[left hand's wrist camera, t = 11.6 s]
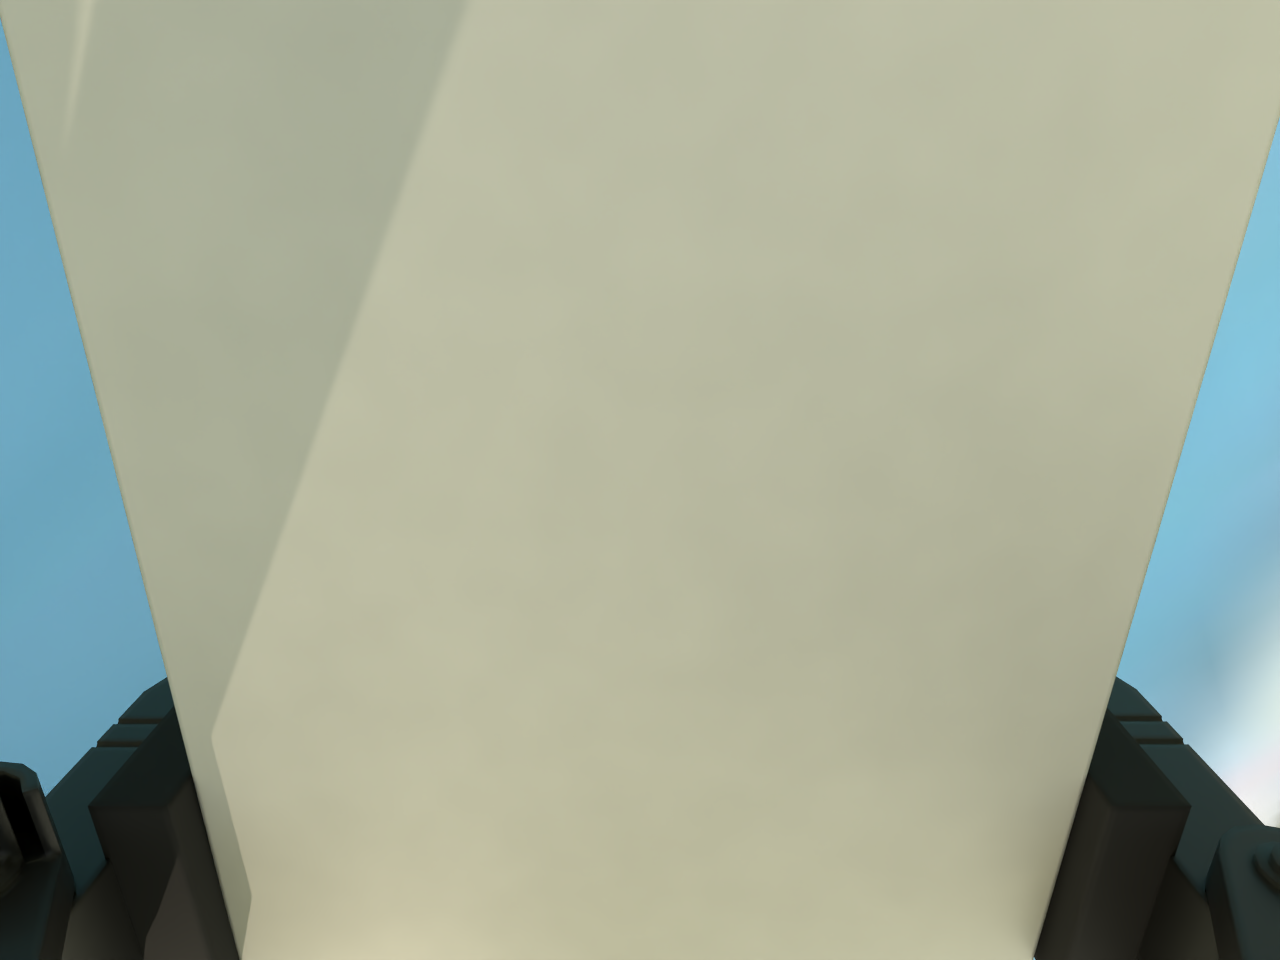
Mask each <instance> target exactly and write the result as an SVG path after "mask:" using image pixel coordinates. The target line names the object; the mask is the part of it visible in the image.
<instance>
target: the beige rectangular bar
mask: <svg viewBox="0 0 1280 960" xmlns="http://www.w3.org/2000/svg"><path fill="white" fill-rule="evenodd" d="M0 17H1V21H2V25H3V29H4V33H5V37H6V41H7V45H8V49H9V53H10V57H11V61H12V65H13V69H14V73H15V77H16V81H17V85H18V89H19V93H20V97H21V100H22V104H23V108H24V112H25V116H26V120H27V124H28V128H29V132H30V136H31V140H32V144H33V148H34V152H35V156H36V160H37V164H38V168H39V172H40V176H41V180H42V184H43V187H44V191H45V195H46V199H47V203H48V207H49V211H50V215H51V219H52V223H53V227H54V231H55V235H56V239H57V243H58V247H59V251H60V255H61V259H62V263H63V267H64V270H65V274H66V278H67V282H68V286H69V290H70V294H71V298H72V302H73V306H74V310H75V314H76V318H77V322H78V326H79V330H80V334H81V338H82V342H83V346H84V350H85V354H86V357H87V361H88V365H89V369H90V373H91V377H92V381H93V385H94V389H95V393H96V397H97V401H98V405H99V409H100V413H101V417H102V421H103V425H104V429H105V433H106V437H107V440H108V444H109V448H110V452H111V456H112V460H113V464H114V468H115V472H116V476H117V480H118V484H119V488H120V492H121V496H122V500H123V504H124V508H125V512H126V516H127V520H128V524H129V527H130V531H131V535H132V539H133V543H134V547H135V551H136V555H137V559H138V563H139V567H140V571H141V575H142V579H143V583H144V587H145V591H146V595H147V599H148V603H149V607H150V610H151V614H152V618H153V622H154V626H155V630H156V634H157V638H158V642H159V646H160V650H161V654H162V658H163V662H164V666H165V670H166V674H167V678H168V682H169V686H170V690H171V694H172V697H173V701H174V705H175V709H176V713H177V717H178V721H179V725H180V729H181V733H182V737H183V741H184V745H185V749H186V753H187V757H188V761H189V765H190V769H191V773H192V777H193V781H194V784H195V788H196V792H197V796H198V800H199V804H200V808H201V812H202V816H203V820H204V824H205V828H206V832H207V836H208V840H209V844H210V848H211V852H212V856H213V860H214V864H215V867H216V871H217V875H218V879H219V883H220V887H221V891H222V895H223V899H224V903H225V907H226V911H227V914H228V918H229V922H230V926H231V929H232V933H233V937H234V941H235V944H236V948H237V952H238V955H239V959H240V960H1033V958H1034V955H1035V951H1036V948H1037V944H1038V941H1039V937H1040V934H1041V931H1042V927H1043V924H1044V920H1045V917H1046V914H1047V910H1048V907H1049V903H1050V900H1051V896H1052V893H1053V890H1054V886H1055V883H1056V879H1057V876H1058V873H1059V869H1060V866H1061V862H1062V859H1063V855H1064V852H1065V849H1066V845H1067V842H1068V838H1069V835H1070V831H1071V828H1072V825H1073V821H1074V818H1075V814H1076V811H1077V808H1078V804H1079V801H1080V797H1081V794H1082V790H1083V787H1084V784H1085V780H1086V777H1087V773H1088V770H1089V767H1090V763H1091V760H1092V756H1093V753H1094V749H1095V746H1096V743H1097V739H1098V736H1099V732H1100V729H1101V725H1102V722H1103V719H1104V715H1105V712H1106V708H1107V705H1108V702H1109V698H1110V695H1111V691H1112V688H1113V684H1114V681H1115V678H1116V674H1117V671H1118V667H1119V664H1120V661H1121V657H1122V654H1123V650H1124V647H1125V643H1126V640H1127V637H1128V633H1129V630H1130V626H1131V623H1132V620H1133V616H1134V613H1135V609H1136V606H1137V602H1138V599H1139V596H1140V592H1141V589H1142V585H1143V582H1144V578H1145V575H1146V572H1147V568H1148V565H1149V561H1150V558H1151V555H1152V551H1153V548H1154V544H1155V541H1156V537H1157V534H1158V531H1159V527H1160V524H1161V520H1162V517H1163V514H1164V510H1165V507H1166V503H1167V500H1168V496H1169V493H1170V490H1171V486H1172V483H1173V479H1174V476H1175V472H1176V469H1177V466H1178V462H1179V459H1180V455H1181V452H1182V449H1183V445H1184V442H1185V438H1186V435H1187V431H1188V428H1189V425H1190V421H1191V418H1192V414H1193V411H1194V408H1195V404H1196V401H1197V397H1198V394H1199V390H1200V387H1201V384H1202V380H1203V377H1204V373H1205V370H1206V366H1207V363H1208V360H1209V356H1210V353H1211V349H1212V346H1213V343H1214V339H1215V336H1216V332H1217V329H1218V325H1219V322H1220V319H1221V315H1222V312H1223V308H1224V305H1225V302H1226V298H1227V295H1228V291H1229V288H1230V284H1231V281H1232V278H1233V274H1234V271H1235V267H1236V264H1237V261H1238V257H1239V254H1240V250H1241V247H1242V243H1243V240H1244V237H1245V233H1246V230H1247V226H1248V223H1249V219H1250V216H1251V213H1252V209H1253V206H1254V202H1255V199H1256V196H1257V192H1258V189H1259V185H1260V182H1261V178H1262V175H1263V172H1264V168H1265V165H1266V161H1267V158H1268V155H1269V151H1270V148H1271V144H1272V141H1273V137H1274V134H1275V131H1276V127H1277V124H1278V120H1279V117H1280V0H0Z"/></svg>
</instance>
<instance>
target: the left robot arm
mask: <svg viewBox="0 0 1280 960" xmlns="http://www.w3.org/2000/svg"><path fill="white" fill-rule="evenodd" d="M1034 957H1035V959H1036V960H1280V828H1276V827H1271V826H1265V825H1264V824H1263V823H1262V822H1261V821H1260V820H1259V819H1258V818H1257V817H1256V816H1255V815H1254V813H1253V812H1252V811H1251V810H1250V809H1249V808H1248V807H1247V806H1246V805H1245V804H1244V803H1243V802H1242V801H1241V800H1240V799H1239V798H1238V797H1237V795H1236V794H1235V793H1234V792H1233V791H1232V790H1231V789H1230V788H1229V787H1228V786H1227V785H1226V784H1225V783H1224V782H1223V781H1222V780H1221V779H1220V777H1219V776H1218V775H1217V774H1216V773H1215V772H1214V771H1213V770H1212V769H1211V768H1210V767H1209V766H1208V765H1207V764H1206V763H1205V762H1204V760H1203V759H1202V758H1201V757H1200V756H1199V755H1198V754H1197V753H1196V752H1195V751H1194V750H1193V749H1192V748H1191V747H1190V746H1189V745H1184V743H1183V738H1182V737H1181V736H1180V735H1179V734H1178V733H1177V732H1176V731H1175V730H1174V729H1173V728H1172V727H1171V726H1170V724H1169V723H1168V722H1163V721H1162V716H1161V715H1160V714H1159V713H1158V712H1157V711H1156V710H1155V709H1154V707H1153V706H1152V705H1151V704H1150V703H1149V702H1148V701H1147V700H1146V699H1145V698H1144V697H1143V696H1142V695H1141V694H1140V693H1139V692H1138V691H1137V689H1135V688H1134V687H1132V686H1130V685H1129V684H1127V683H1126V682H1124V681H1122V680H1121V679H1119V678H1118V677H1116V678H1115V681H1114V684H1113V688H1112V691H1111V695H1110V698H1109V702H1108V705H1107V708H1106V712H1105V715H1104V719H1103V722H1102V725H1101V729H1100V732H1099V736H1098V739H1097V743H1096V746H1095V749H1094V753H1093V756H1092V760H1091V763H1090V767H1089V770H1088V773H1087V777H1086V780H1085V784H1084V787H1083V790H1082V794H1081V797H1080V801H1079V804H1078V808H1077V811H1076V814H1075V818H1074V821H1073V825H1072V828H1071V831H1070V835H1069V838H1068V842H1067V845H1066V849H1065V852H1064V855H1063V859H1062V862H1061V866H1060V869H1059V873H1058V876H1057V879H1056V883H1055V886H1054V890H1053V893H1052V896H1051V900H1050V903H1049V907H1048V910H1047V914H1046V917H1045V920H1044V924H1043V927H1042V931H1041V934H1040V937H1039V941H1038V944H1037V948H1036V951H1035V955H1034ZM0 960H240V959H239V955H238V952H237V948H236V944H235V941H234V937H233V933H232V929H231V926H230V922H229V918H228V914H227V911H226V907H225V903H224V899H223V895H222V891H221V887H220V883H219V879H218V875H217V871H216V867H215V864H214V860H213V856H212V852H211V848H210V844H209V840H208V836H207V832H206V828H205V824H204V820H203V816H202V812H201V808H200V804H199V800H198V796H197V792H196V788H195V784H194V781H193V777H192V773H191V769H190V765H189V761H188V757H187V753H186V749H185V745H184V741H183V737H182V733H181V729H180V725H179V721H178V717H177V713H176V709H175V705H174V701H173V697H172V694H171V690H170V686H169V682H168V678H165V679H163V680H162V681H160V682H159V683H157V684H155V685H154V686H152V687H151V688H149V689H148V690H146V691H144V692H143V693H142V694H141V695H140V697H139V698H138V699H137V700H136V701H135V702H134V703H133V704H132V705H131V706H130V707H129V708H128V709H127V710H126V711H125V713H124V714H123V715H122V716H121V717H120V718H119V722H118V724H113V725H112V726H111V727H110V729H109V730H108V731H107V732H106V733H105V734H104V735H103V736H102V737H101V738H100V739H99V740H98V741H97V747H92V748H91V749H90V750H89V751H88V752H87V753H86V754H85V755H84V756H83V757H82V758H81V759H80V761H79V762H78V763H77V764H76V765H75V766H74V767H73V768H72V769H71V770H70V771H69V772H68V773H67V774H66V775H65V777H64V778H63V779H62V780H61V781H60V782H59V783H58V784H57V785H56V786H55V787H54V788H53V789H52V790H51V791H50V793H49V794H48V795H47V796H46V797H45V796H44V793H43V790H42V788H41V785H40V782H39V779H38V777H37V774H36V773H35V772H34V771H33V770H31V769H30V768H28V767H27V766H25V765H24V764H19V763H9V762H0Z"/></svg>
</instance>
